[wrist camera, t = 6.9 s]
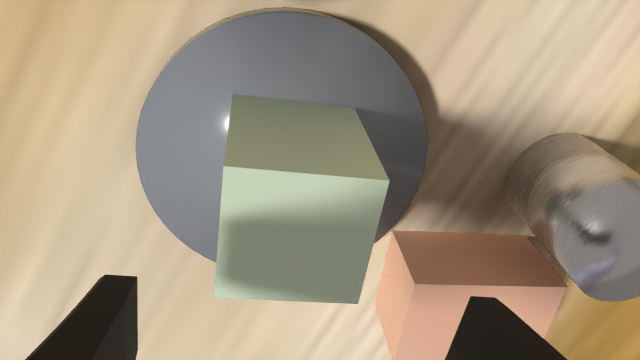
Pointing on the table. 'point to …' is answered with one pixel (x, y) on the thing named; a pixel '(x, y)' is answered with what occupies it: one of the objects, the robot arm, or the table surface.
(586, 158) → the grey tin
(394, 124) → the coaster
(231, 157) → the sage block
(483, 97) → the table surface
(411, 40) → the table surface
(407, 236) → the terracotta block
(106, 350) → the robot arm
